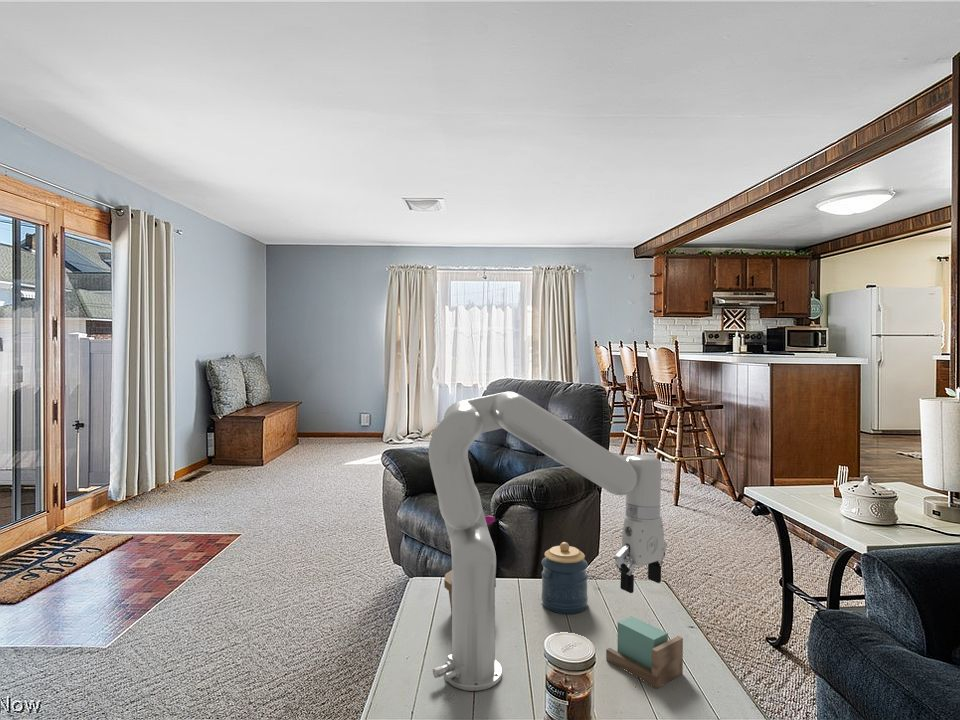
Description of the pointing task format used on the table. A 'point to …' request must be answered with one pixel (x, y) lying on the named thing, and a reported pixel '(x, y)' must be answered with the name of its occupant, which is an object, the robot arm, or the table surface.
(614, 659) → the book slot
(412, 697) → the table surface
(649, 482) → the robot arm
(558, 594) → the canister
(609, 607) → the table surface
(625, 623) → the teal rectangular block
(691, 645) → the table surface
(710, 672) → the table surface
